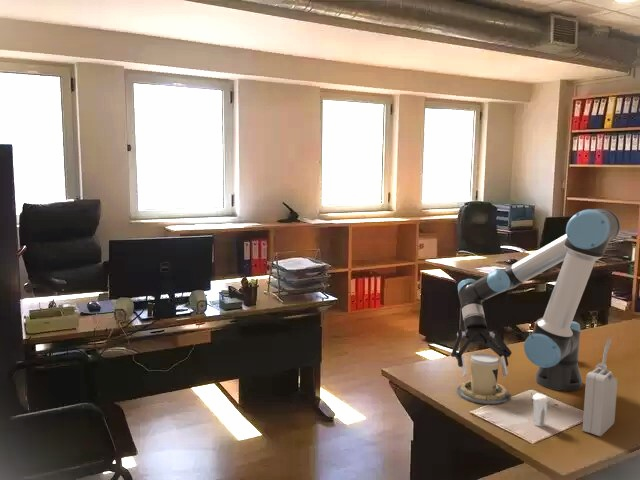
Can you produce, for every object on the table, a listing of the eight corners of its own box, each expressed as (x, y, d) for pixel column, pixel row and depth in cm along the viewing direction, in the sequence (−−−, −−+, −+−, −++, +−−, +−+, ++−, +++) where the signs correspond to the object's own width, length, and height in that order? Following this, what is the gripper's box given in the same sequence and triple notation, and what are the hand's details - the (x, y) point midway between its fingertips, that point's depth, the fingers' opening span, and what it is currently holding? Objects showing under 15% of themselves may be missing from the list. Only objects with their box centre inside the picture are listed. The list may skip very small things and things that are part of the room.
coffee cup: (499, 398, 179) (501, 363, 178) (469, 395, 181) (471, 360, 180) (496, 387, 188) (497, 354, 187) (468, 385, 190) (469, 351, 189)
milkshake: (525, 421, 165) (527, 389, 164) (542, 420, 165) (544, 388, 164) (532, 428, 160) (534, 395, 159) (550, 427, 161) (552, 395, 159)
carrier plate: (512, 389, 189) (512, 383, 188) (506, 408, 173) (507, 401, 173) (462, 381, 196) (462, 375, 195) (452, 399, 180) (453, 392, 180)
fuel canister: (599, 415, 169) (605, 336, 166) (617, 420, 166) (623, 340, 163) (581, 431, 158) (587, 347, 155) (599, 437, 155) (606, 352, 152)
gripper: (506, 324, 198) (519, 380, 185) (437, 324, 198) (445, 380, 185) (512, 314, 192) (526, 370, 179) (441, 314, 192) (450, 370, 179)
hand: (485, 375), depth 182 cm, fingers open, 13 cm apart
